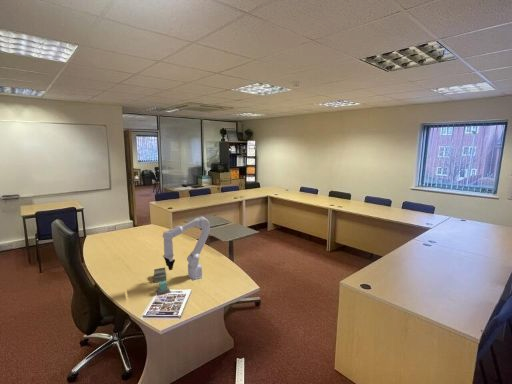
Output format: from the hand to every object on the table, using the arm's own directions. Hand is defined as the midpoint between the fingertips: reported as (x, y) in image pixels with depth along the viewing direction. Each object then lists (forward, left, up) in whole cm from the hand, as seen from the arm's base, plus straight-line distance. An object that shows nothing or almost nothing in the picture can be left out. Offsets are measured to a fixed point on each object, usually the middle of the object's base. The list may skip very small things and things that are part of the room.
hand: (169, 267), depth 185 cm
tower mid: (+7, +13, -9) cm, 17 cm away
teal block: (+7, +13, -7) cm, 16 cm away
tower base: (+7, +13, -11) cm, 19 cm away
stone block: (+6, -9, -11) cm, 15 cm away
